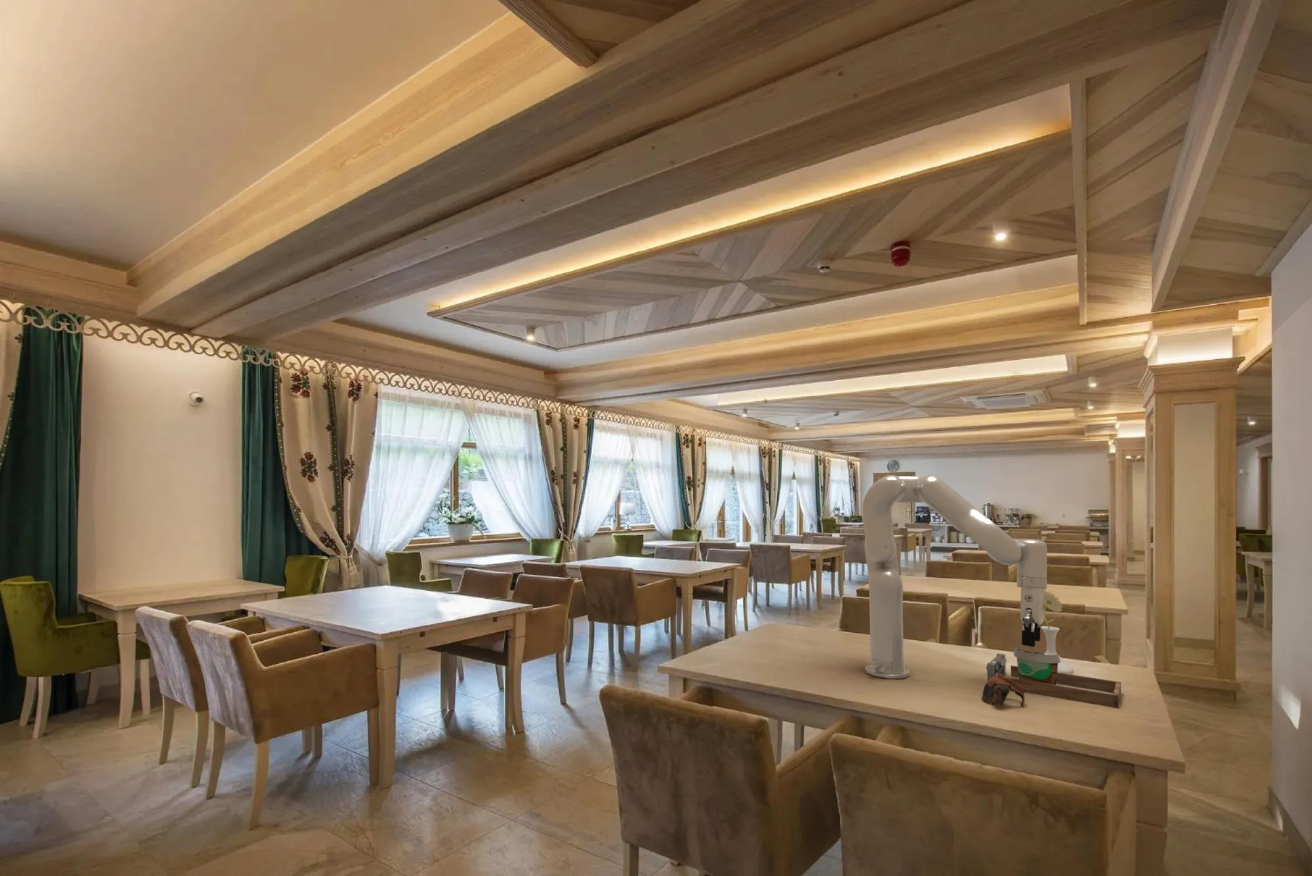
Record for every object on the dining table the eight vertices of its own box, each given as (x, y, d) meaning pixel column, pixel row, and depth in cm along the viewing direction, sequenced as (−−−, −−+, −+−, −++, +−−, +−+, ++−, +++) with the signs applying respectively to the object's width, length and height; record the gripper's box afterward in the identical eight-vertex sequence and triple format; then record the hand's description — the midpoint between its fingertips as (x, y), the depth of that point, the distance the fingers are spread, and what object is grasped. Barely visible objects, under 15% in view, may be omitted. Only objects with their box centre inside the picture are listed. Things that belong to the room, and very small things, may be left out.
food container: (1005, 683, 188) (1004, 648, 189) (1017, 680, 191) (1016, 645, 192) (1049, 695, 178) (1047, 657, 179) (1061, 692, 181) (1060, 655, 182)
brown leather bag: (979, 696, 178) (994, 670, 178) (1015, 719, 172) (1030, 692, 172) (976, 696, 168) (992, 668, 168) (1014, 720, 162) (1030, 691, 163)
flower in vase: (1080, 680, 192) (1077, 594, 194) (1038, 677, 195) (1035, 592, 197) (1062, 668, 205) (1059, 588, 207) (1023, 666, 207) (1020, 586, 209)
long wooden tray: (1118, 707, 168) (1117, 695, 168) (1001, 687, 184) (1000, 676, 184) (1121, 693, 180) (1120, 682, 180) (1011, 675, 197) (1011, 665, 197)
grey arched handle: (997, 687, 185) (996, 665, 185) (985, 685, 186) (985, 663, 187) (1009, 673, 199) (1008, 653, 200) (998, 671, 201) (997, 651, 202)
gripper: (1042, 587, 179) (1041, 650, 178) (1050, 581, 193) (1050, 640, 192) (1011, 583, 184) (1010, 645, 182) (1021, 578, 197) (1021, 636, 196)
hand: (1031, 643), depth 187 cm, fingers open, 9 cm apart
